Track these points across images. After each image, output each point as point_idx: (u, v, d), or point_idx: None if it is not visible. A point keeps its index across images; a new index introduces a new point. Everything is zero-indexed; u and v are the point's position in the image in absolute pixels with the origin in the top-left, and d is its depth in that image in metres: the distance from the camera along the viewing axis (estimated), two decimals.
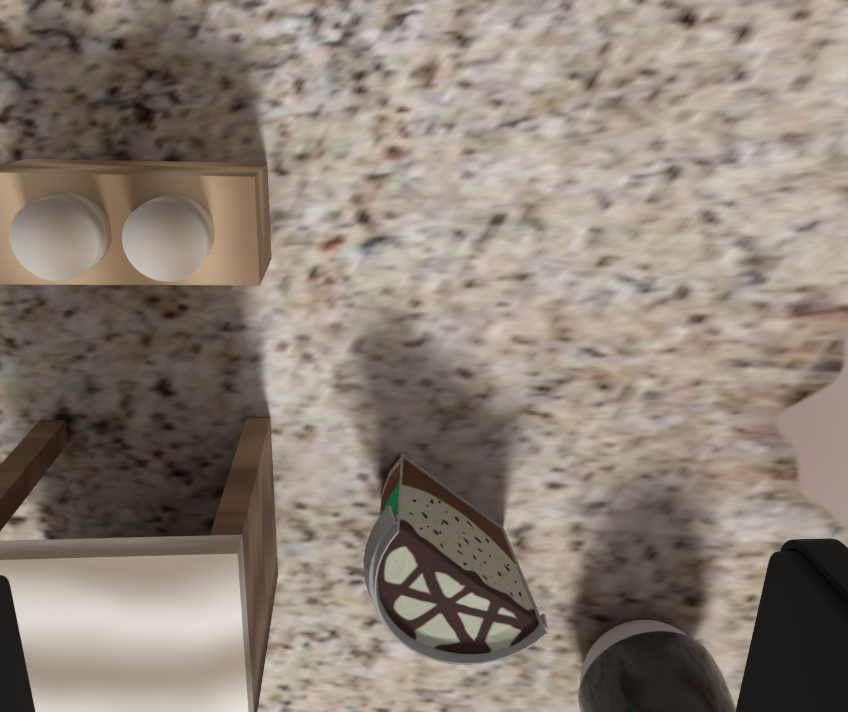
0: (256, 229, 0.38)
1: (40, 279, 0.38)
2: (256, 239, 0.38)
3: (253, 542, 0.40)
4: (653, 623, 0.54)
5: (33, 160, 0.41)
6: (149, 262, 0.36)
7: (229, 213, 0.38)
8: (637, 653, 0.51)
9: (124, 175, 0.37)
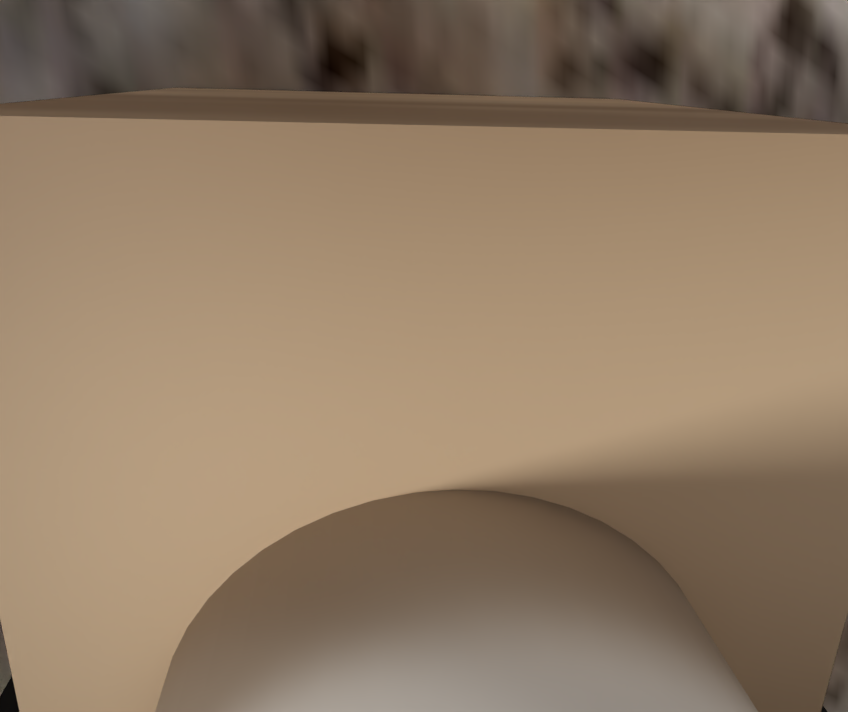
0: None
1: (24, 510, 0.04)
2: None
3: None
4: None
5: None
6: None
7: None
8: None
9: None
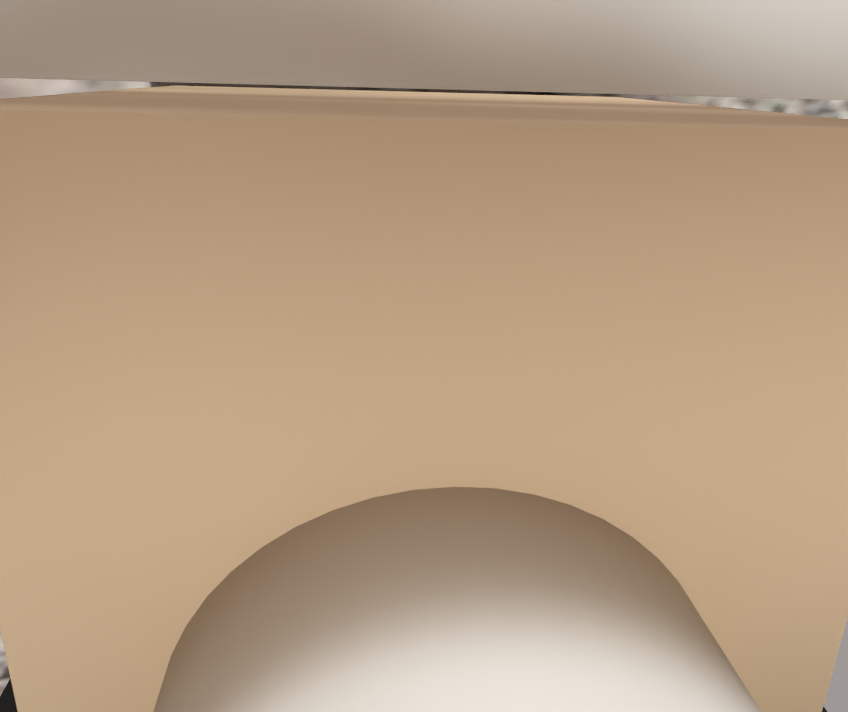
0: None
1: (22, 507, 0.04)
2: None
3: None
4: None
5: None
6: None
7: None
8: None
9: None
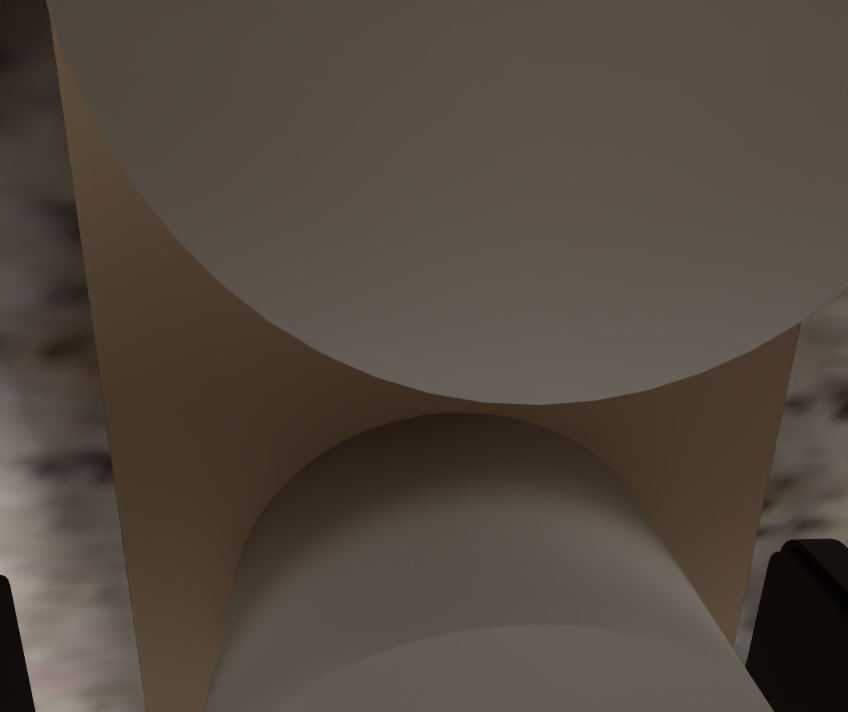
0: None
1: None
2: None
3: None
4: None
5: None
6: None
7: None
8: None
9: (784, 376, 0.06)
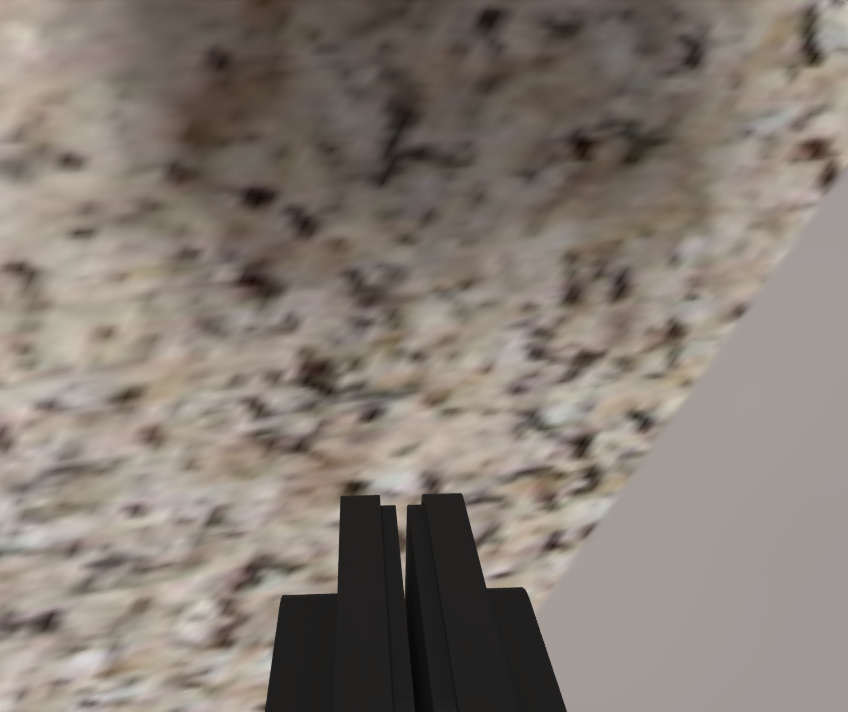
0: None
1: None
2: None
3: None
4: None
5: None
6: None
7: None
8: None
9: None
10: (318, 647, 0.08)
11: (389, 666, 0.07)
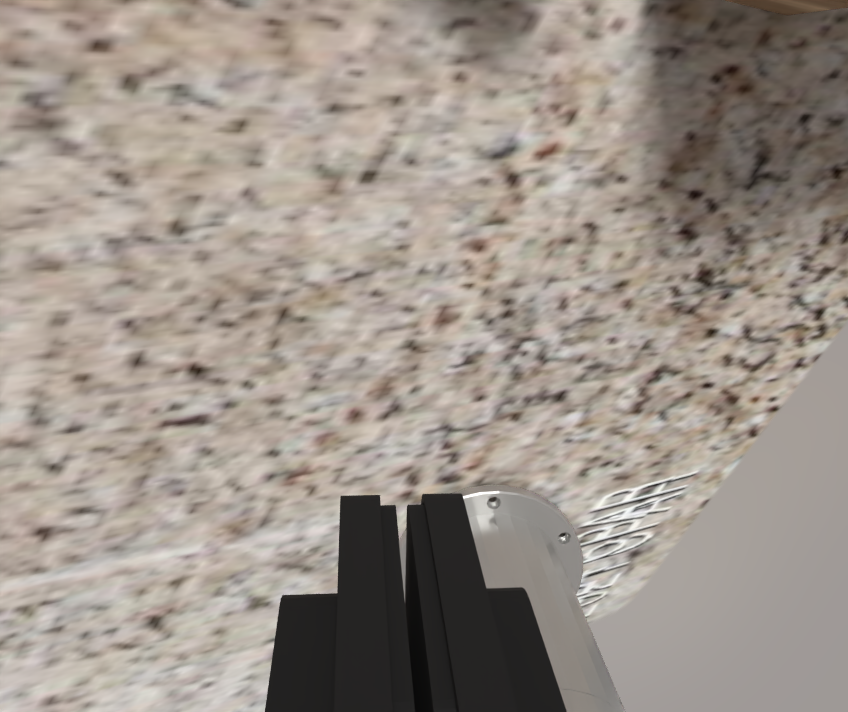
0: None
1: None
2: None
3: None
4: None
5: None
6: None
7: None
8: None
9: None
10: (317, 647, 0.08)
11: (389, 666, 0.07)
